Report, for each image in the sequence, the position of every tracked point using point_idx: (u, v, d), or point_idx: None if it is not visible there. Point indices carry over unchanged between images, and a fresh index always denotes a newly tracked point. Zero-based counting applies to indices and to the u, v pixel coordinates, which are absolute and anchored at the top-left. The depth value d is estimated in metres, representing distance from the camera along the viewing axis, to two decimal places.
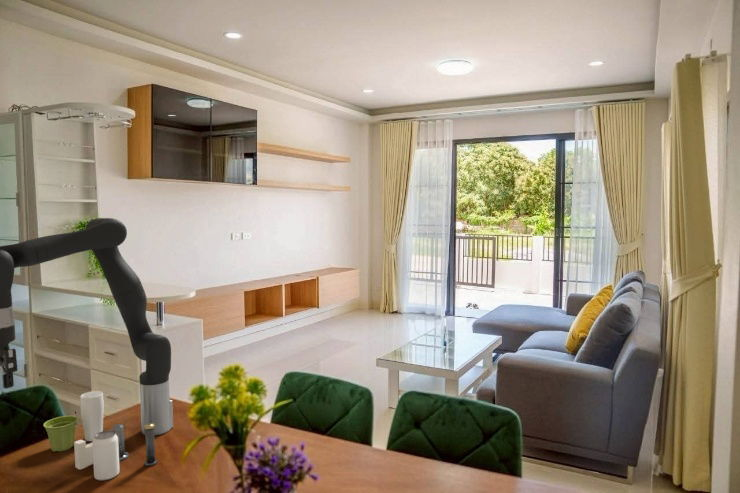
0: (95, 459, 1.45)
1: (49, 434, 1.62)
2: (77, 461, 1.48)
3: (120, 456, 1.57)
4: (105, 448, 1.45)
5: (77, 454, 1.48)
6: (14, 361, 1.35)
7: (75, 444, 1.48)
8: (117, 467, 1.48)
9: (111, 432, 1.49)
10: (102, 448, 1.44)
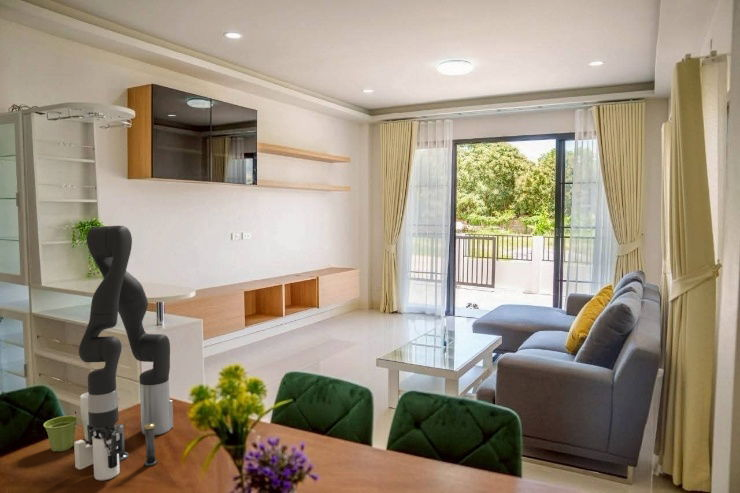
0: (95, 459, 1.45)
1: (49, 434, 1.62)
2: (77, 461, 1.48)
3: (120, 456, 1.57)
4: (105, 448, 1.45)
5: (77, 454, 1.48)
6: (120, 444, 1.44)
7: (75, 444, 1.48)
8: (117, 467, 1.48)
9: None
10: (102, 448, 1.44)
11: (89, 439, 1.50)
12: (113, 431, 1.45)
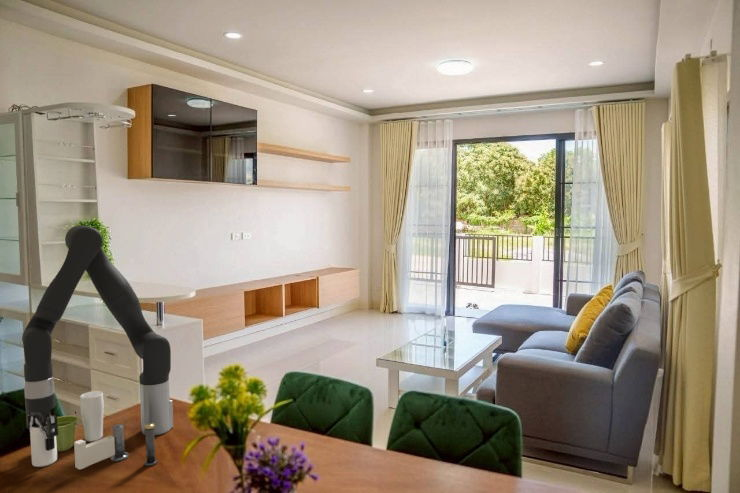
0: (32, 446, 1.53)
1: None
2: (77, 461, 1.48)
3: (120, 456, 1.57)
4: (42, 436, 1.53)
5: (77, 454, 1.48)
6: (55, 426, 1.52)
7: (75, 444, 1.48)
8: (54, 455, 1.56)
9: None
10: (39, 436, 1.52)
11: (27, 422, 1.58)
12: (48, 415, 1.53)
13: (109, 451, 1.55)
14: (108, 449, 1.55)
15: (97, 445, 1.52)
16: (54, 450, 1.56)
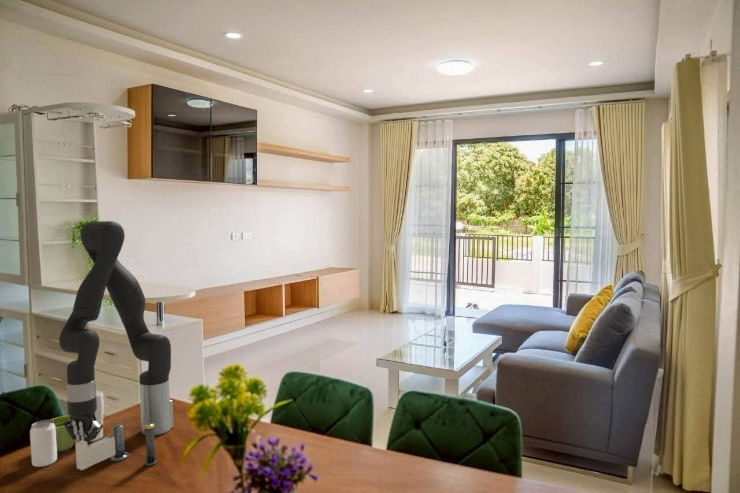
0: (32, 446, 1.53)
1: None
2: (78, 462, 1.48)
3: (120, 456, 1.57)
4: (42, 436, 1.53)
5: (79, 455, 1.47)
6: (97, 433, 1.51)
7: (76, 445, 1.47)
8: (54, 455, 1.56)
9: (49, 421, 1.57)
10: (39, 436, 1.52)
11: (71, 434, 1.52)
12: (95, 421, 1.51)
13: (110, 451, 1.55)
14: (109, 449, 1.54)
15: (98, 445, 1.52)
16: (54, 450, 1.56)
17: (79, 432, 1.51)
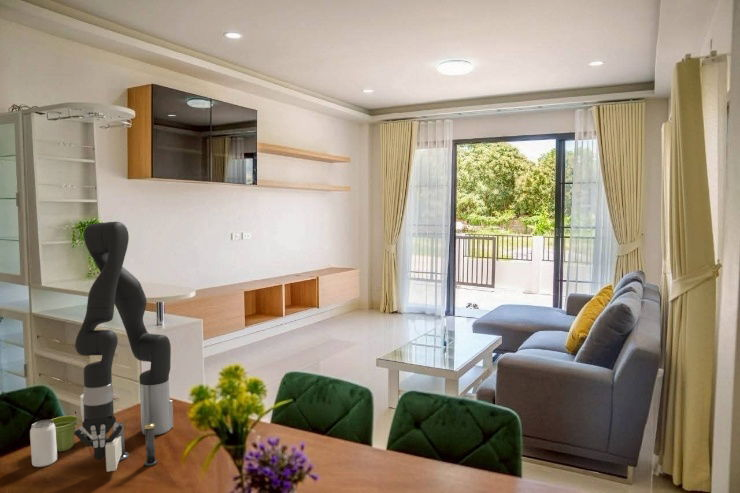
0: (32, 446, 1.53)
1: None
2: (110, 464, 1.46)
3: None
4: (42, 436, 1.53)
5: (111, 456, 1.46)
6: None
7: (108, 447, 1.46)
8: (54, 455, 1.56)
9: (49, 421, 1.57)
10: (39, 436, 1.52)
11: (85, 441, 1.47)
12: (116, 421, 1.50)
13: (120, 450, 1.55)
14: (120, 448, 1.55)
15: (117, 445, 1.52)
16: (54, 450, 1.56)
17: (97, 437, 1.48)
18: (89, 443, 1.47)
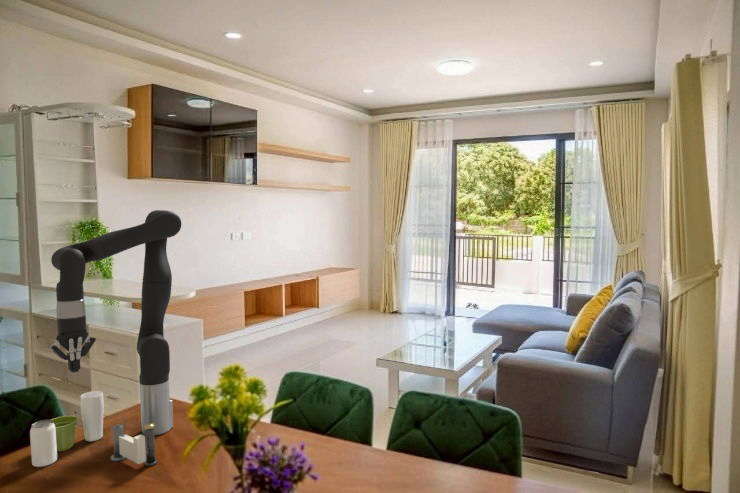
0: (32, 446, 1.53)
1: None
2: (141, 455, 1.51)
3: (120, 456, 1.57)
4: (42, 436, 1.53)
5: (142, 448, 1.51)
6: None
7: (139, 440, 1.50)
8: (54, 455, 1.56)
9: (49, 421, 1.57)
10: (39, 436, 1.52)
11: (63, 355, 1.53)
12: None
13: None
14: None
15: None
16: (54, 450, 1.56)
17: None
18: (66, 356, 1.53)
